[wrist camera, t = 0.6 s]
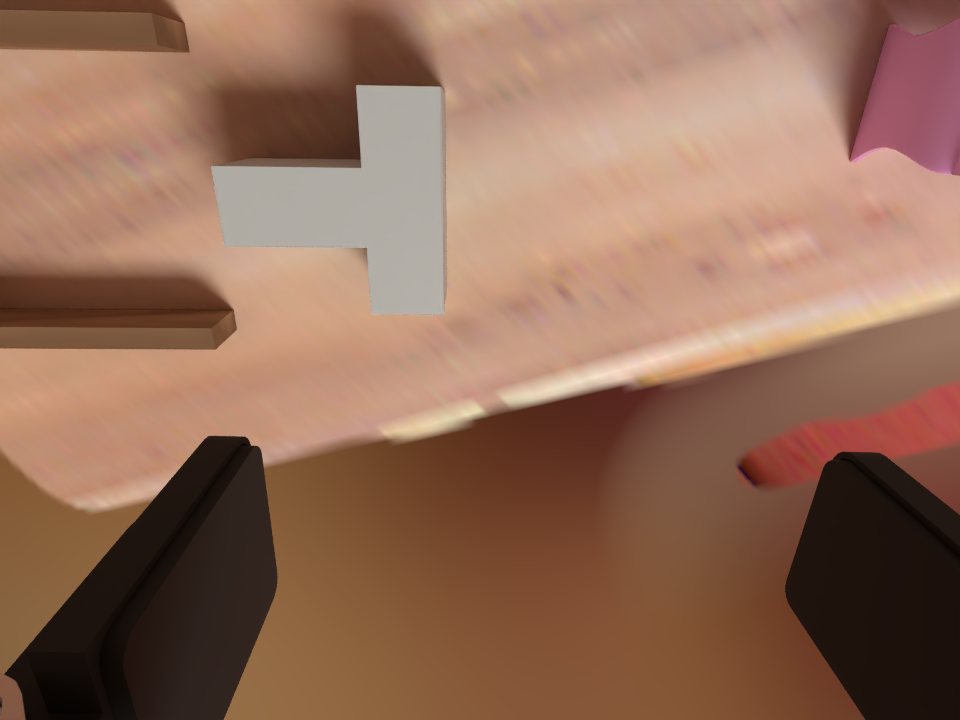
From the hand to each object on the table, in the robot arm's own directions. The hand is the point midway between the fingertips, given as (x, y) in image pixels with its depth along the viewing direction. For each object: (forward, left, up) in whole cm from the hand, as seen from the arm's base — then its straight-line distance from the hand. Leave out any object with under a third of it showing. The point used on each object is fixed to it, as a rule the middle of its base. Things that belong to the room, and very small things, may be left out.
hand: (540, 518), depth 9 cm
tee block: (-2, -7, -23) cm, 25 cm away
